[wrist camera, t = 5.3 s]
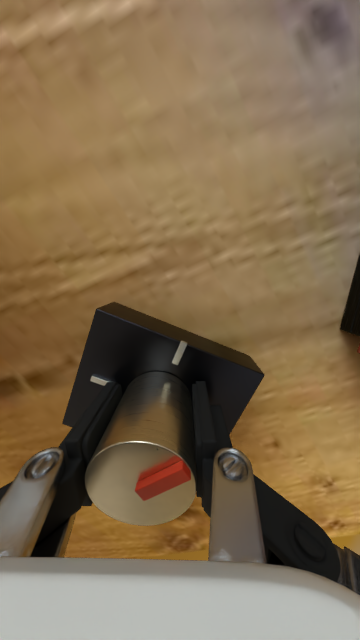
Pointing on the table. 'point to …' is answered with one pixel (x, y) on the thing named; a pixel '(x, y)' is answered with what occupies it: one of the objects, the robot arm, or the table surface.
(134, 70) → the table surface
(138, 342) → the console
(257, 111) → the table surface
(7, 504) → the robot arm
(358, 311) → the small drawer unit
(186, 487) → the dial
